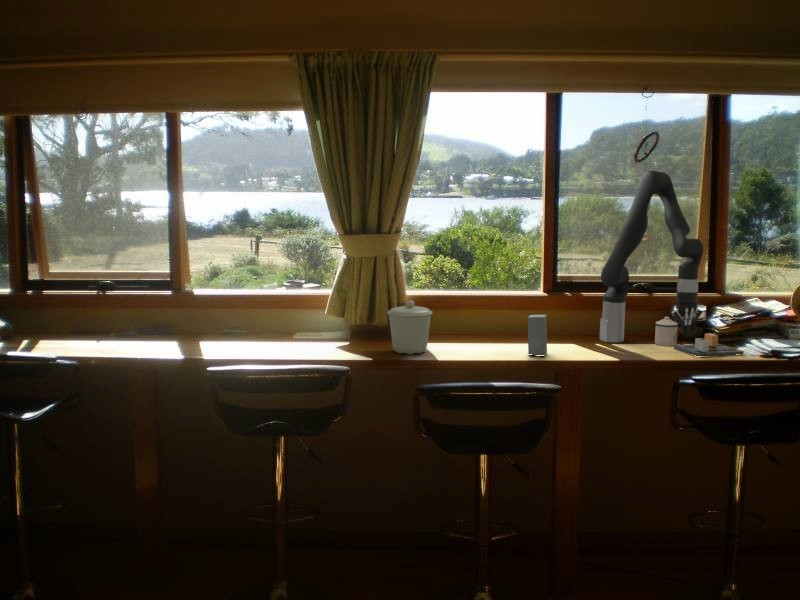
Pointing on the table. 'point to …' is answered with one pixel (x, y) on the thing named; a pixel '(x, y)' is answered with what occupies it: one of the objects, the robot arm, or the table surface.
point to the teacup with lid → (666, 332)
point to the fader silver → (701, 344)
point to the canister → (409, 328)
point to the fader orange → (712, 339)
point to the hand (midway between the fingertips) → (685, 334)
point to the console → (709, 350)
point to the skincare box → (537, 334)
